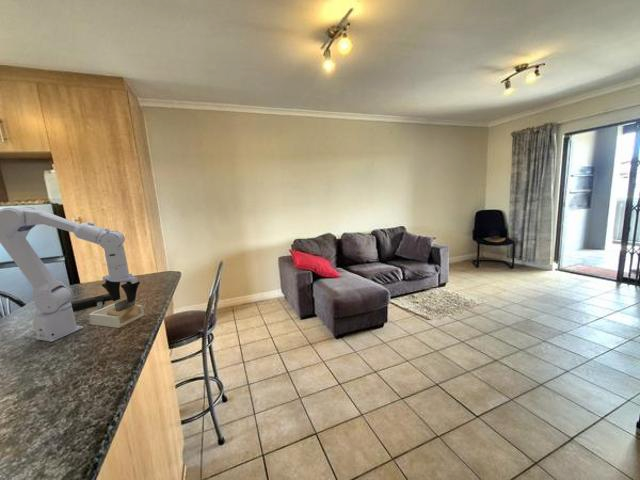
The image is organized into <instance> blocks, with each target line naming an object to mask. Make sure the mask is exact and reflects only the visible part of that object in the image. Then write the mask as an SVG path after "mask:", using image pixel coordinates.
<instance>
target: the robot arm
mask: <svg viewBox="0 0 640 480" xmlns="http://www.w3.org/2000/svg"><path fill="white" fill-rule="evenodd" d="M39 225H41V226H42V225H45V226H49V227H52V228H56V229H59V230H63V231H66V232H70V233H73V234H74V235H75V237H76V238H77V239H81V240H83V241H87V242H89V243H93V244H96V245H99V246H100V247H101V248H102V249H103V250H104V251H103V252H104V257H105V263H106V266H107V271H108V275H105V276H102V281H103V282H104V283H102V284H101V287H102V288H104V289H105V291H106V292H107V294H110V296H111V298H112V300H111V301H113V302H116V301H118V300H120V299H121V293H120V291H121V290H120V288H122V290H123V291H124V294H125V297H126V299H127V300H128V302H133V301H134V302H135V301H136V297H137V290H138V287H139V286H140V281H139V278H138V276H134V275H133V273H130V272H129V267H128V260H127V256H126V251H125V246H124V243H125V240H126V237H125V235H124V234H123V233H121V232H120V231H119V230H111V229H110V228H107V227H106V228H103V227H101V226H97V225H95V222H91V221H90V222H82V223H77V222H75V221H72V220H69V219H67V218H64V217H61V216H58V215H56V214H53V213H50V212H48V211H46V210H43V209H37V208H35V207H33V206H23V207H22V206H21V207H3V208H2V209H1V208H0V245H1V246H2V247H3V248H4V250H5V252H7V254H8V255H9V257H10V258H11V260H12V261H13V262H14V263H15V265H16V266H17V267H18V269H19V270H20V271H21V273H22V274H23V276H24V277H25V278H26V280H27V281H28V282H29V283H30V285H31V286H32V288H33V290H32V293H31V296H32V298H33V300H34V305H35V308H36V309H37V310H38V311H39V312H42V313H40V314H38V315H36V316H34V317H33V321H32V322H33V326H34V327H33V328H34V330H35V333H36V340H39V341H44V342H54V341H56V340H59V339H61V338H64V337H65V336H68V335H70V334H72V333H74V332H76V331H79V330H81V329H83V328H84V326H82V325H77V322H76V318H75V313H74V312H73V309H72V304H71V302H72V301H71V300H72V299H73V297H74V292H73V290H72V289H71V287H69V286H66V285H65V284H64V283H63V281H60V280H58V279H56V278H55V277H54V276H53V275H52V273H51V272H50V270H49V269H48V268H47V266H46V264H45V263H44V262H43V261H42V259H41V258H40V256H39V255H38V253H37V252H36V251H35V249H34V248H33V246H32V245H31V244H30V242H29V241H28V240H27V236H28V235H29V233H30V231H31V230H32V229H34V228H35V227H36V226H39ZM121 283H124V284H121Z"/></svg>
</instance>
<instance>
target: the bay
mask: <svg viewBox="0 0 640 480" xmlns="http://www.w3.org/2000/svg"><path fill="white" fill-rule="evenodd" d="M115 304H116V302H115V303H112V304H109V305H107V306H105V307H104V306H103V308H102V309H99V310H97V309H96V310H94V311H92V312H89V313H88V314H87V316H88V317H87V318H88V321H89V325H92V326H93V325H94V326H101V327H110V328H117V329H119V328H122V327H124V326H126V325H128V324H129V323H131V322H132V323H133V322H134V321H136V320H137V319H140V318H142V317H143V316H145V311H144V306H143V305H140V304H137V305H138V310H139V314H138V315H136V316H134V317H132V318H130V319H128V320H126V321H124V322H121V323H120V319H119V316H111V315H107V312H106V311H108V310H110V309H113V308H115Z"/></svg>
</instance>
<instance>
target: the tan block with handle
mask: <svg viewBox="0 0 640 480" xmlns="http://www.w3.org/2000/svg"><path fill="white" fill-rule="evenodd" d="M115 303H116V302H115ZM138 305H139V304H137V303H135V301H133V302H128V300H127V298H125V299H124V300H123V299H122V300H121V301H119V302H117V303H116V304H115V308H113V309H110V310H108V311H106V312H107V315H111V316H119V319H120V323H121V322H124V321H126V320H128V319H130V318H132V317H134V316H136V315H138V314H139V310H138Z"/></svg>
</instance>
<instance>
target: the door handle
mask: <svg viewBox="0 0 640 480" xmlns="http://www.w3.org/2000/svg"><path fill="white" fill-rule="evenodd" d="M110 300H111V301H113V300H112V298H111V296H110V294H109V293H105V294H101V295H97V296H91V297H88V298H84V299H83V298H82V299H79V300H74V301H71V304H72V309H73V313H74V312H79V311H83V310H86V309H92V308H94V307H96V311H97V310H99V309H102V308H104V305H105V302H107V301H110Z"/></svg>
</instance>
